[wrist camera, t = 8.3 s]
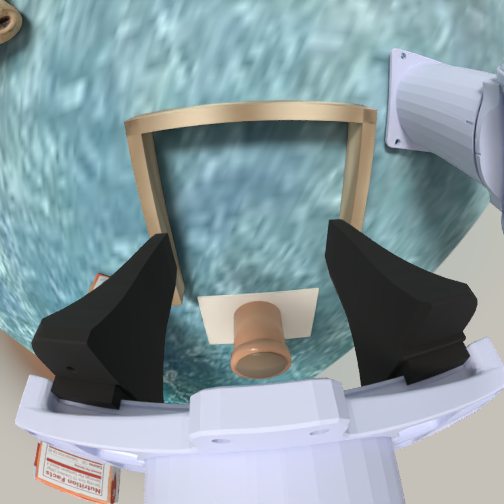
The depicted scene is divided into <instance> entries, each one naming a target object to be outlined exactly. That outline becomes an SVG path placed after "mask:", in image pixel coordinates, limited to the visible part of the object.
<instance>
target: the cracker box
mask: <svg viewBox="0 0 504 504" xmlns="http://www.w3.org/2000/svg"><path fill="white" fill-rule="evenodd" d="M108 278H109V276H105V275H102V274H99V273H98V274H97V275H96V278H95V280H94V282H93V284H92V286H91V288H90V290H89V292H91V291H92V290H94V289H95V288H97V287H98V286H99V285H101V284H102V283H103V282H104V281H106V280H107V279H108ZM120 469H121V468H118V467H114V466H111V465H107V464H103V463H100V462H96V461H93V460H90V459H87V458H84V457H81V456H77V455H74V454H72V453H69V452H66V451H63V450H60V449H57V448H55V447H52V446H50V445H48V444H46V443H45V442H43V441H41V440H39V442H38V447H37V453H36V459H35V463H34V472H33V477H34V478H35V479H36V480H38V481H40V482H42V483H44V484H46V485H48V486H50V487H53V488H55V489H58V490H60V491H62V492H64V493H67V494H70V495H72V496H75V497H78V498H81V499H84V500H87V501H90V502H94V503H98V504H113V503H115V502H118V495H119V484H120Z"/></svg>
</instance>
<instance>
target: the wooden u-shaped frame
mask: <svg viewBox="0 0 504 504" xmlns="http://www.w3.org/2000/svg"><path fill="white" fill-rule="evenodd" d="M376 119H377V110H375V109H372V108H369V107H366V106H363V105H358V104H348V103H335V102H319V101H247V102H231V103H218V104H208V105H199V106H191V107H183V108H176V109H170V110H164V111H158V112H152V113H147V114H142V115H137V116H135V117H133V118H131V119H129V120H127V121H125V122H124V123H125V129H126V135H127V141H128V146H129V152H130V157H131V162H132V167H133V171H134V176H135V180H136V185H137V189H138V194H139V198H140V202H141V206H142V210H143V214H144V218H145V222H146V225H147V229H148V233H149V236H150V238H151V237H152V236H153V235H154V234H159V233H168V235H169V239H170V243H171V247H172V250H173V254H174V258H175V261H176V265H177V278H176V287H175V292H174V296H173V300H172V305H171V306H174V305H182V301H183V295H184V289H185V284H184V281H183V277H182V273H181V269H180V265H179V261H178V257H177V253H176V249H175V245H174V241H173V236H172V232H171V228H170V223H169V219H168V214H167V209H166V204H165V200H164V195H163V189H162V184H161V179H160V174H159V168H158V162H157V157H156V151H155V145H154V138H153V131H159V130H166V129H172V128H179V127H187V126H195V125H204V124H214V123H225V122H239V121H259V120H323V121H342V122H348V136H347V150H346V162H345V172H344V182H343V191H342V200H341V208H340V215H339V219H342V220H344V221H346V222H347V223H349V224H350V225H352V226H353V227H354V228H356V229H357V230H359V231H360V232H361V229H362V224H363V218H364V213H365V207H366V201H367V195H368V189H369V182H370V175H371V167H372V159H373V151H374V141H375V131H376ZM330 277H331V276H330ZM332 282H333V281H332ZM333 284H334V283H333ZM334 287H335V286H334ZM335 289H336V288H335ZM336 292H337V291H336ZM337 294H338V293H337Z"/></svg>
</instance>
